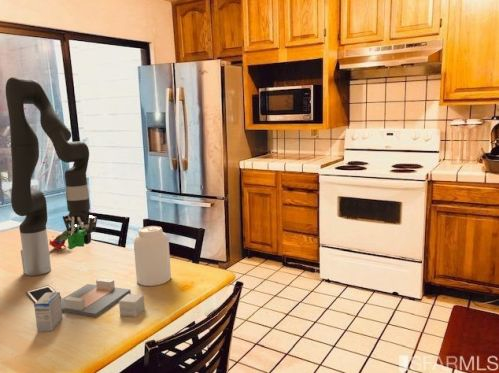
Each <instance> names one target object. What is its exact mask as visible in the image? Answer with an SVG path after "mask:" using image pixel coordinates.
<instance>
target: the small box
mask: <svg viewBox="0 0 499 373" xmlns="http://www.w3.org/2000/svg"><path fill="white" fill-rule="evenodd" d="M118 306H119V316H121V317H123V316H124V317H134V318H137V317H139V315H140V314H141V313H143V311H144V310H145V309H146V308H145V296H144V294H136V293H135V294H133V293H129V294H127V295H126V296H125V297H124V298H122V299H121V300H120V301H118Z"/></svg>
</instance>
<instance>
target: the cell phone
mask: <svg viewBox="0 0 499 373" xmlns="http://www.w3.org/2000/svg"><path fill="white" fill-rule="evenodd" d="M48 292H57V291H56V290H55V289H54V288H53V287H51V285H49V284H48V285H44V286H41V287H36V288H33V289H30V290H27V291H26V292H25V293H26V295H27V296H28V297H29V299H30V300H31V301H32V302H33V304H35V303H36V302H37V301H38V300H39V299H40V298H41V297H42V296H43V295H44V294H45V293H48ZM60 298H61V299H62V297H61V295H60Z"/></svg>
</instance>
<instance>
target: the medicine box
mask: <svg viewBox="0 0 499 373" xmlns="http://www.w3.org/2000/svg"><path fill="white" fill-rule="evenodd" d="M60 296H61V292H59V291H56V292H48V293H45V294H44V295H43V296H42V297H41V298H40V299H39V300H38V301H37V302H36V303H33V304H34V314H35V322H36V331H37V332H38V333H41V332H52V331H54V329H55V328H56V326H57V325H58V324H59V323H60V321H61V320H62V319H63V312H62V308H61V299H62V297H61V298H60Z"/></svg>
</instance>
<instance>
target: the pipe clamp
mask: <svg viewBox="0 0 499 373" xmlns="http://www.w3.org/2000/svg"><path fill="white" fill-rule="evenodd" d="M86 229H87V228H86ZM67 243H68V246H69V247H68V246H67V247H68V250H73V249H75V248H76V247H80V248H82V247H85V245H86V244H85V241H84V232H83V229H82V228H81V229H79V230H78V232H76V233H75V234H73V235H72V234H71V236H69V237H68V239H67Z"/></svg>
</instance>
